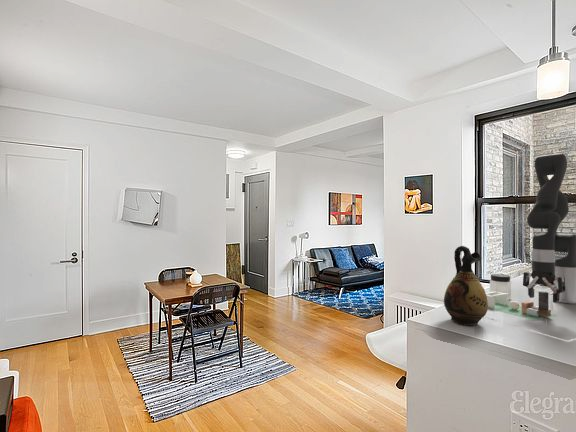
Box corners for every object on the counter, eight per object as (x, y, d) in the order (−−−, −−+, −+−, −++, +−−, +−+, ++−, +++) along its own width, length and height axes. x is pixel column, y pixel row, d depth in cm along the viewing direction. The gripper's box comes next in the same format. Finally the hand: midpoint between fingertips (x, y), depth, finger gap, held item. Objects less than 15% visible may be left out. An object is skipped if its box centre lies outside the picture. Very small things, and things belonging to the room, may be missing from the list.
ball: (512, 308, 146) (512, 299, 146) (521, 310, 142) (521, 301, 142) (506, 309, 144) (506, 300, 144) (516, 311, 141) (516, 302, 141)
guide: (536, 313, 138) (536, 306, 138) (546, 315, 135) (546, 308, 135) (526, 315, 136) (526, 308, 136) (537, 317, 132) (537, 310, 132)
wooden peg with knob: (528, 311, 140) (528, 288, 140) (552, 317, 132) (552, 292, 132) (521, 312, 138) (521, 289, 138) (545, 318, 130) (545, 294, 130)
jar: (505, 302, 158) (505, 277, 158) (487, 298, 165) (487, 275, 165) (513, 299, 163) (513, 275, 163) (495, 296, 170) (495, 273, 170)
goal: (495, 301, 157) (495, 290, 157) (509, 305, 151) (509, 293, 151) (479, 304, 152) (479, 292, 152) (493, 308, 146) (493, 295, 146)
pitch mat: (497, 302, 158) (497, 300, 158) (557, 316, 135) (557, 315, 135) (475, 305, 151) (475, 304, 151) (534, 321, 129) (534, 320, 129)
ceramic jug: (498, 327, 122) (498, 248, 122) (461, 330, 120) (461, 249, 120) (466, 314, 139) (466, 244, 139) (433, 316, 136) (433, 244, 136)
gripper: (569, 262, 128) (569, 303, 128) (529, 257, 141) (529, 295, 141) (558, 263, 125) (558, 305, 125) (519, 258, 138) (519, 296, 138)
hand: (543, 299), depth 133 cm, fingers open, 8 cm apart
